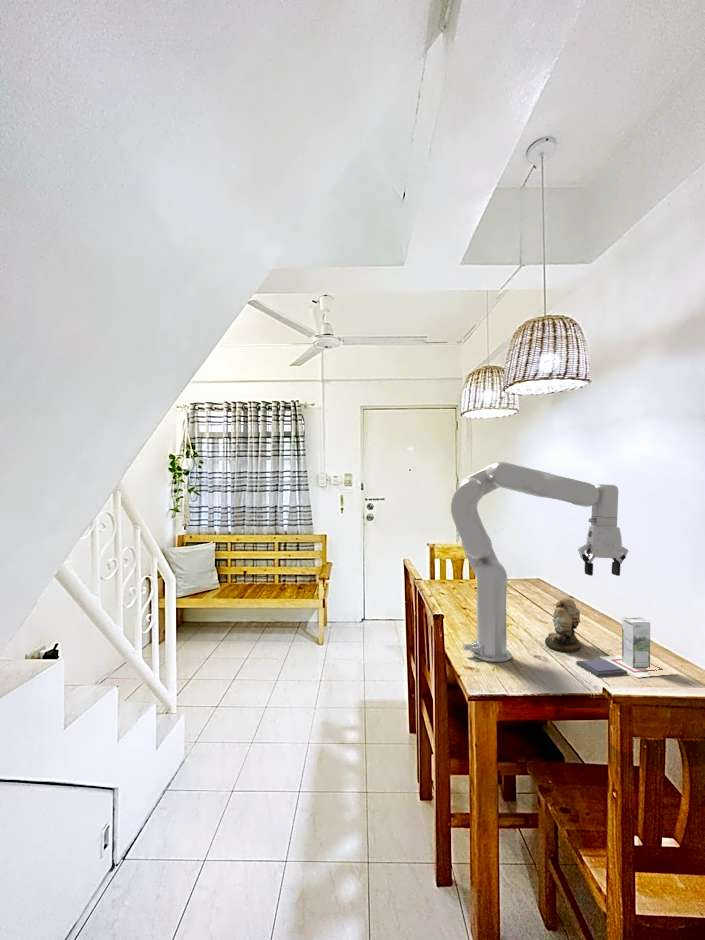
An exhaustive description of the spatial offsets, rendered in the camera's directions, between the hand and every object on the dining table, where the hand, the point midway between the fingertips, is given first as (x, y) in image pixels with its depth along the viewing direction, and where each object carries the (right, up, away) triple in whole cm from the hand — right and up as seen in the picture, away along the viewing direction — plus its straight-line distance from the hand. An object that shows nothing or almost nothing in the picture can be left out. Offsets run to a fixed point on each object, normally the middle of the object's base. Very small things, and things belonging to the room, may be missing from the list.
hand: (602, 574), depth 161 cm
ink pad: (-4, -28, -8) cm, 29 cm away
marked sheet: (+8, -28, -5) cm, 29 cm away
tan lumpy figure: (-6, -28, +15) cm, 33 cm away
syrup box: (+8, -28, -5) cm, 29 cm away
